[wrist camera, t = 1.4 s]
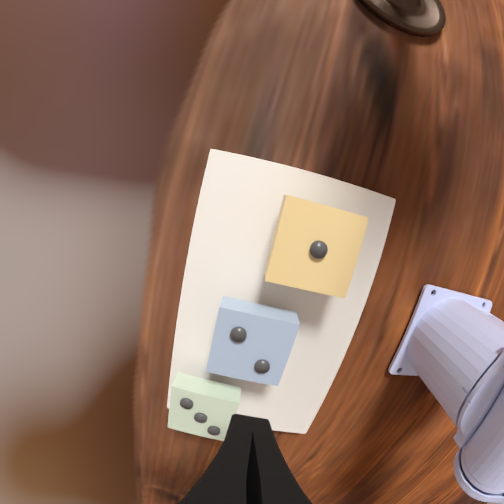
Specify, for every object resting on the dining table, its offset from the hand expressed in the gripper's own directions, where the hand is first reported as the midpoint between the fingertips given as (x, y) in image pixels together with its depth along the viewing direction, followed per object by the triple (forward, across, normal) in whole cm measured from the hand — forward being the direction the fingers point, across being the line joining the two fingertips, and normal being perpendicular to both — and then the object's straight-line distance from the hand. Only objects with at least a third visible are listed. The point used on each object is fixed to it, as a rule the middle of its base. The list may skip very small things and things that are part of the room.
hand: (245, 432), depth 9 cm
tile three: (+8, +2, +7) cm, 11 cm away
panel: (+10, -1, 0) cm, 10 cm away
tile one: (+8, -2, -7) cm, 11 cm away
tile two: (+8, 0, 0) cm, 8 cm away
